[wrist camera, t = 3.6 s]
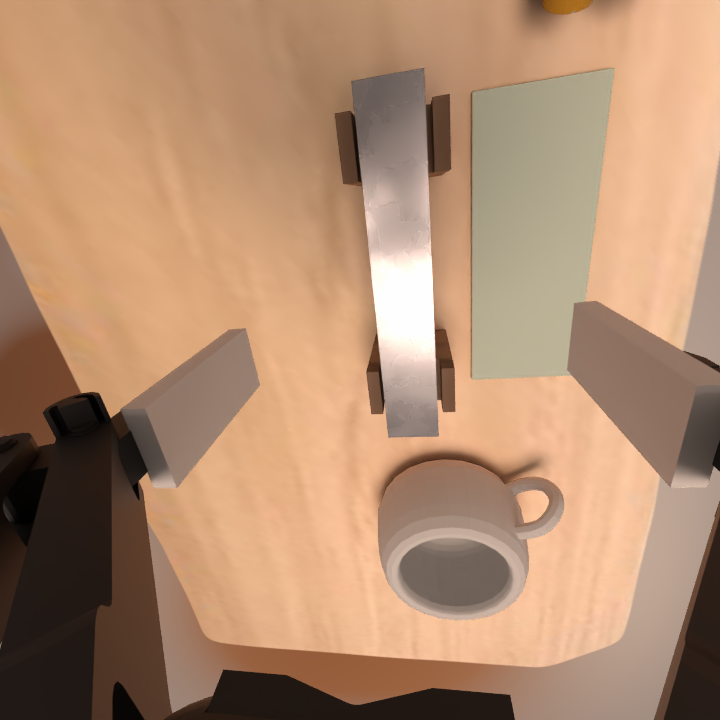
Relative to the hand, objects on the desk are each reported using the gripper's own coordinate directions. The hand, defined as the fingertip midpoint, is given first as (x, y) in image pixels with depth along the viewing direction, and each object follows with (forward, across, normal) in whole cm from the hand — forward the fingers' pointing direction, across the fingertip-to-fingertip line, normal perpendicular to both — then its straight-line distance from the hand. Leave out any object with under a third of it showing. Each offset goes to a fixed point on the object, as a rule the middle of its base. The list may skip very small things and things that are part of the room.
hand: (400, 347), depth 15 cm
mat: (+22, +11, 0) cm, 24 cm away
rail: (+15, 0, 0) cm, 15 cm away
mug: (+22, +5, -29) cm, 37 cm away
